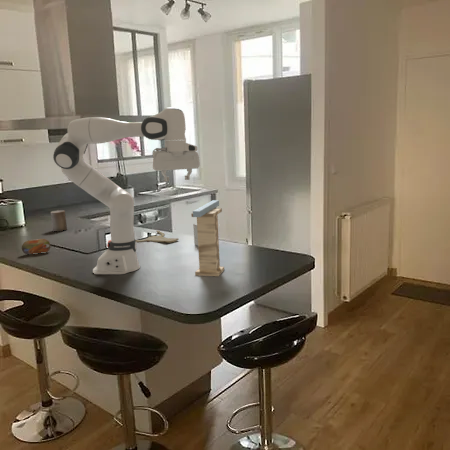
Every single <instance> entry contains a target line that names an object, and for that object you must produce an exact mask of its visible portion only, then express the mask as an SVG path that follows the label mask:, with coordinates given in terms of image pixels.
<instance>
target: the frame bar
mask: <svg viewBox="0 0 450 450" xmlns="http://www.w3.org/2000/svg"><path fill="white" fill-rule="evenodd" d="M218 206H220V200H219V199H213V200H211V201H209V202H207V203H205V204H204V205H202V206H199V207H198V208H196V209H194V210H192V213H193V217H192V218H197V217H201V216H203V215H204V214H206V213H207V212H209V211H211V210H212V209H214V208H218Z"/></svg>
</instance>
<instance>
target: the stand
mask: <svg viewBox="0 0 450 450" xmlns="http://www.w3.org/2000/svg"><path fill="white" fill-rule="evenodd" d="M222 212H223V209H222V208H221V207H220V208H218V207H216V208H214V209H212V210H211V211H209V212H207V213H206V214H204V215H203V216H201V217H196V223H197V232H198V246H197V248H198V250H197V251H198V265H199V267H198V269H197V270H195V272H194V275H195V276H200V277H201V276H202V277H203V276H204V277H205V276H206V277H220V275H221V274H222V273H223V272H224V271H225V266H221V265H220V264H221V263H220V262H221V261H220V244H219V243H220V241H219V239H220V238H219V219H218V215H219V214H220V213H222ZM191 218H194V217H193V212H192V213H191Z"/></svg>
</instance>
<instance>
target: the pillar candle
mask: <svg viewBox="0 0 450 450" xmlns="http://www.w3.org/2000/svg"><path fill="white" fill-rule="evenodd" d="M49 213H50V218H51V227H52V232H54V231H60V232H64V231H63V230H66V231H68V227H67V217H66V210H63V209H60V210H59V209H57V210H52V211H50V212H49Z"/></svg>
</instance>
